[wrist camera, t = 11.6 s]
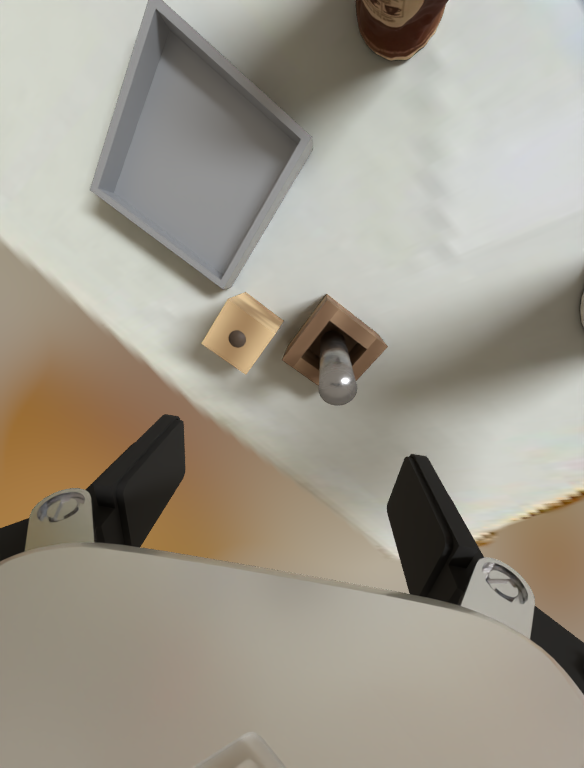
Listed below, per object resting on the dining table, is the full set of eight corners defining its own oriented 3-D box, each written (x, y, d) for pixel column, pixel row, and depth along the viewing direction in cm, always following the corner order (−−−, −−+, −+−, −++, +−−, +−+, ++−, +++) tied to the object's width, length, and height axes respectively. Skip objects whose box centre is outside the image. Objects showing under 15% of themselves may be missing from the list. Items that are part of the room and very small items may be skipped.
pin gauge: (349, 340, 29) (365, 386, 19) (334, 358, 30) (339, 412, 20) (331, 325, 29) (335, 363, 18) (315, 344, 30) (310, 391, 19)
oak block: (283, 320, 30) (275, 334, 24) (259, 355, 32) (245, 374, 26) (245, 292, 29) (227, 299, 24) (222, 329, 31) (201, 343, 26)
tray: (313, 149, 24) (312, 136, 21) (231, 287, 29) (223, 289, 27) (170, 20, 21) (151, -10, 19) (110, 196, 27) (89, 190, 24)
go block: (377, 333, 30) (387, 346, 25) (336, 380, 32) (338, 400, 28) (326, 293, 29) (327, 299, 24) (288, 345, 31) (282, 360, 27)
